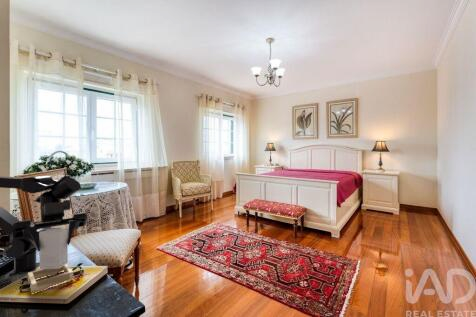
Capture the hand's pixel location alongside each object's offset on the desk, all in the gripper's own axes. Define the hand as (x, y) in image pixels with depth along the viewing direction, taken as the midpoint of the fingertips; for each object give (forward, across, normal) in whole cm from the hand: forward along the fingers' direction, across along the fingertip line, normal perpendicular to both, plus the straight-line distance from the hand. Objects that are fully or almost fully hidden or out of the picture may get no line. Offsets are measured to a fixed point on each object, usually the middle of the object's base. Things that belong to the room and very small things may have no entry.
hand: (54, 247), depth 70 cm
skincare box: (+4, 0, +6) cm, 7 cm away
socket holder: (+6, 0, +11) cm, 13 cm away
